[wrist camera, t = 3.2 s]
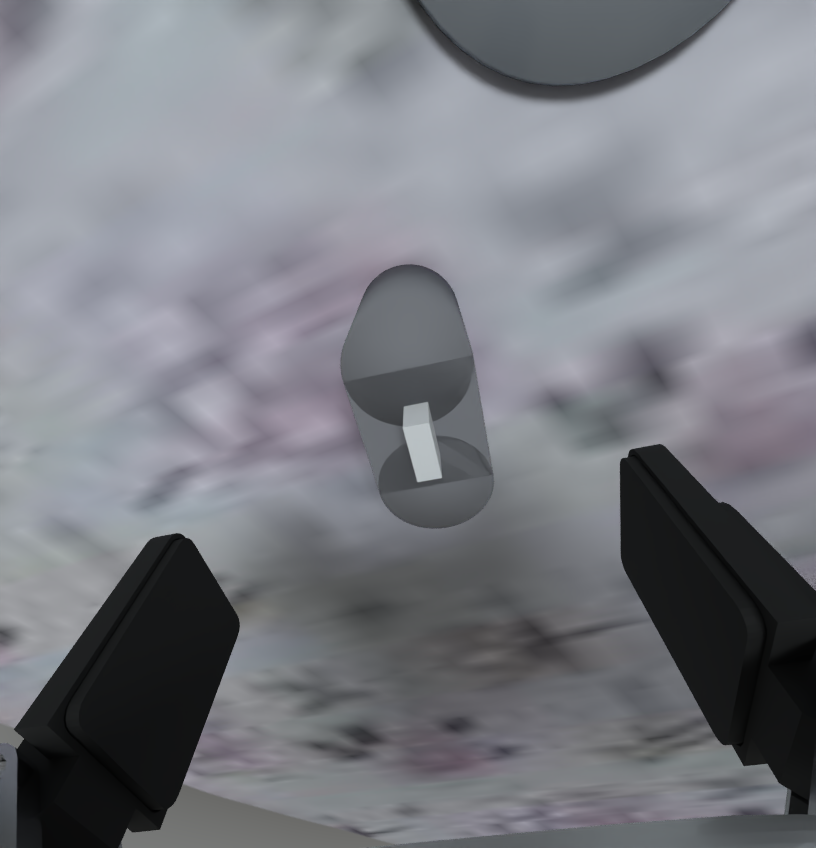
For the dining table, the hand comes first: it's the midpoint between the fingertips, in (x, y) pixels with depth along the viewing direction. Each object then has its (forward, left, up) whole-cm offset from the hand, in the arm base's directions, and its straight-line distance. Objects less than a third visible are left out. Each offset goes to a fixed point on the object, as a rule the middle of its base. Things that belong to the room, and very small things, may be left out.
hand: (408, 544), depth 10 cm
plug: (0, 0, -9) cm, 9 cm away
